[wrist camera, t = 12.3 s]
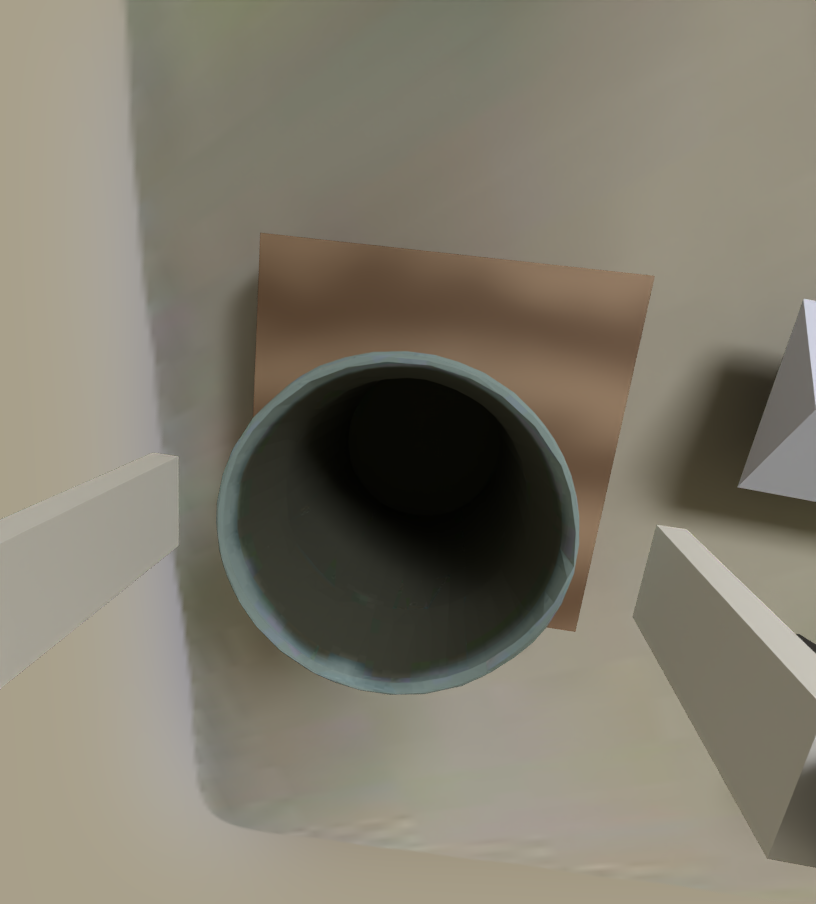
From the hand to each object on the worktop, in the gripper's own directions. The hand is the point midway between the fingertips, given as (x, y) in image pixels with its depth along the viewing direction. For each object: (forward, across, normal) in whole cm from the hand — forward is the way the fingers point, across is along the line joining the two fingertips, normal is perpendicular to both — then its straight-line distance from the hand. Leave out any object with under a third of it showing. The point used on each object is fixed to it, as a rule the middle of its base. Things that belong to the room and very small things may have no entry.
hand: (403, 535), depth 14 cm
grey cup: (+12, 0, 0) cm, 12 cm away
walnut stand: (+16, 0, 0) cm, 16 cm away
